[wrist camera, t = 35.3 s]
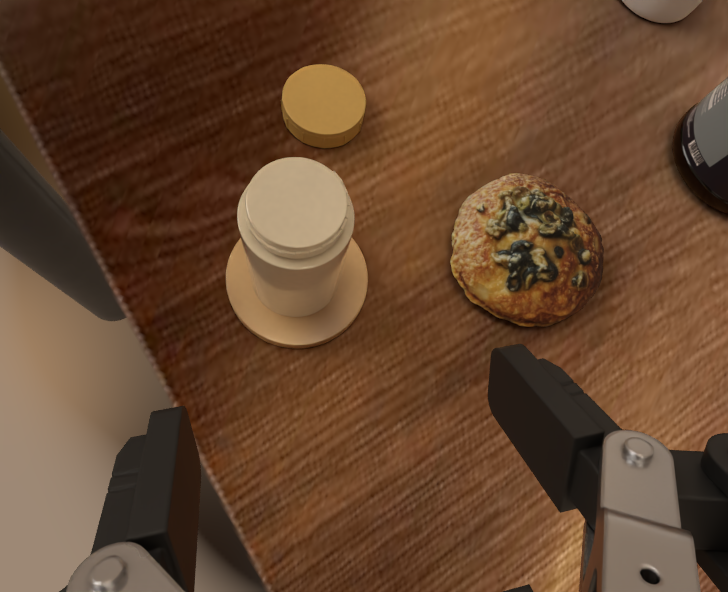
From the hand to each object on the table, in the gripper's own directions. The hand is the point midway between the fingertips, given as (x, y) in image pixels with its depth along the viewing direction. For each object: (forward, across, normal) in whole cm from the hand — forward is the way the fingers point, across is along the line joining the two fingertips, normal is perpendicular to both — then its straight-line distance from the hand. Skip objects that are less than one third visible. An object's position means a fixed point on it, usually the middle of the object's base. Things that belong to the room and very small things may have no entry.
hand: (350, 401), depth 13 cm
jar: (+19, 0, -5) cm, 20 cm away
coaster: (+20, 0, -6) cm, 21 cm away
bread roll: (+20, +16, -6) cm, 26 cm away
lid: (+28, +4, +4) cm, 28 cm away
